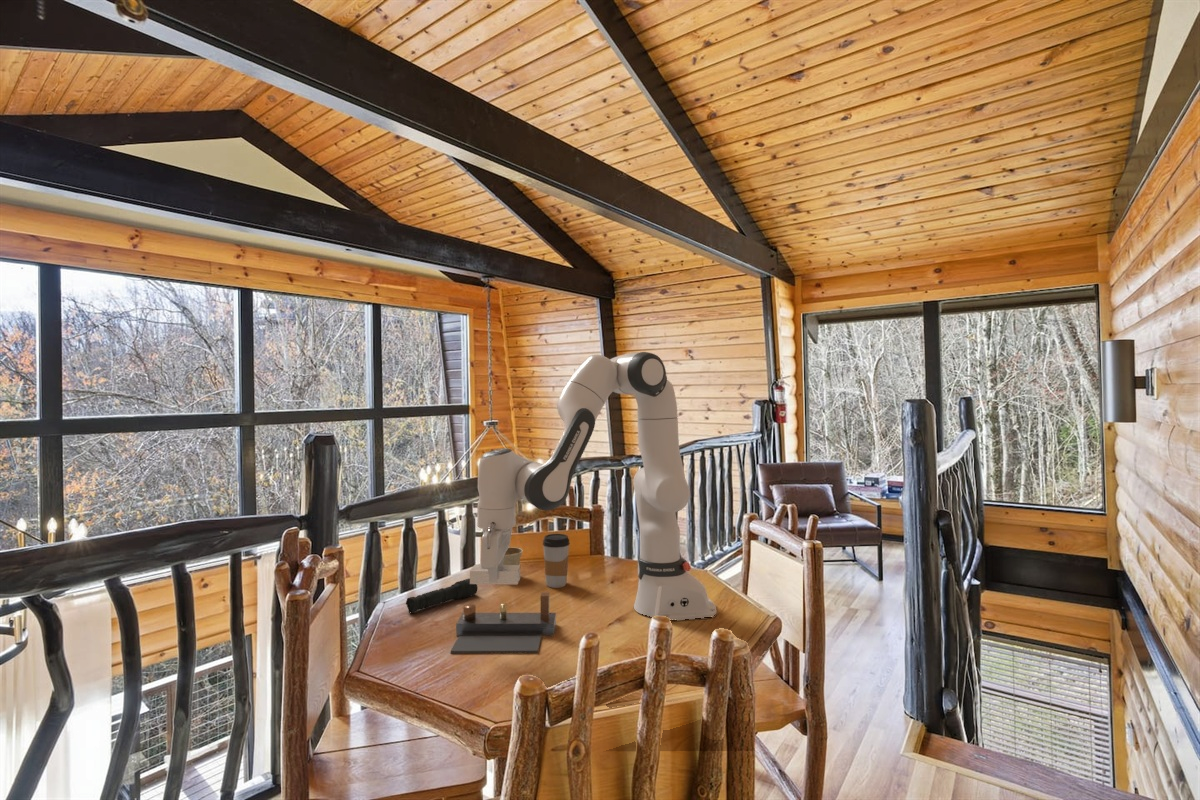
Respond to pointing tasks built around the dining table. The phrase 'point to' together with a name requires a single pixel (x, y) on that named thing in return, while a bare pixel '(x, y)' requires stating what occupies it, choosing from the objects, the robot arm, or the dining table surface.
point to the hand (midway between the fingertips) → (495, 577)
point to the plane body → (507, 622)
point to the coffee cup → (556, 559)
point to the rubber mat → (496, 644)
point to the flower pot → (512, 556)
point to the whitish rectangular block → (505, 575)
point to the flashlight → (441, 595)
